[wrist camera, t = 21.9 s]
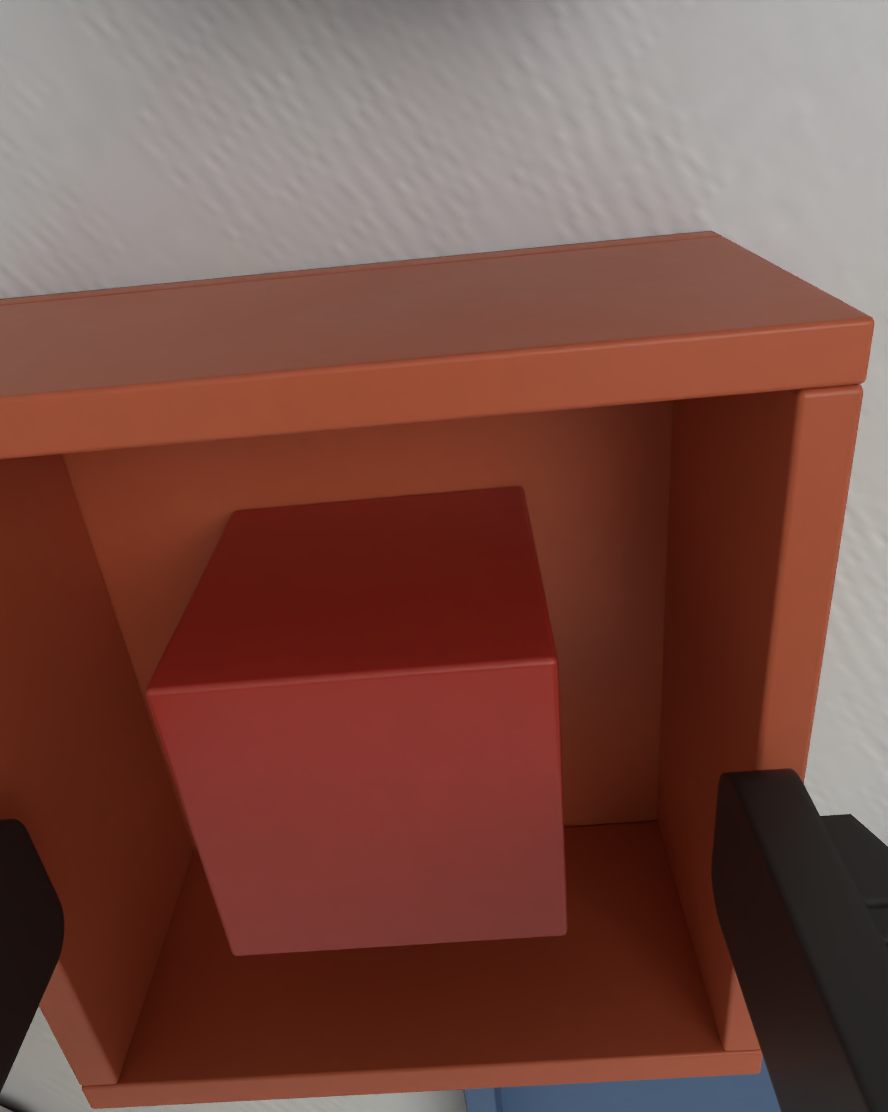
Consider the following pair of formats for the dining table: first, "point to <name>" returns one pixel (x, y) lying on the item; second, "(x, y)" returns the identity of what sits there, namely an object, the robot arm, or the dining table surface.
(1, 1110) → the supplement bottle
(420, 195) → the dining table surface
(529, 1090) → the blue tray
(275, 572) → the red block
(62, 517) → the orange bin
